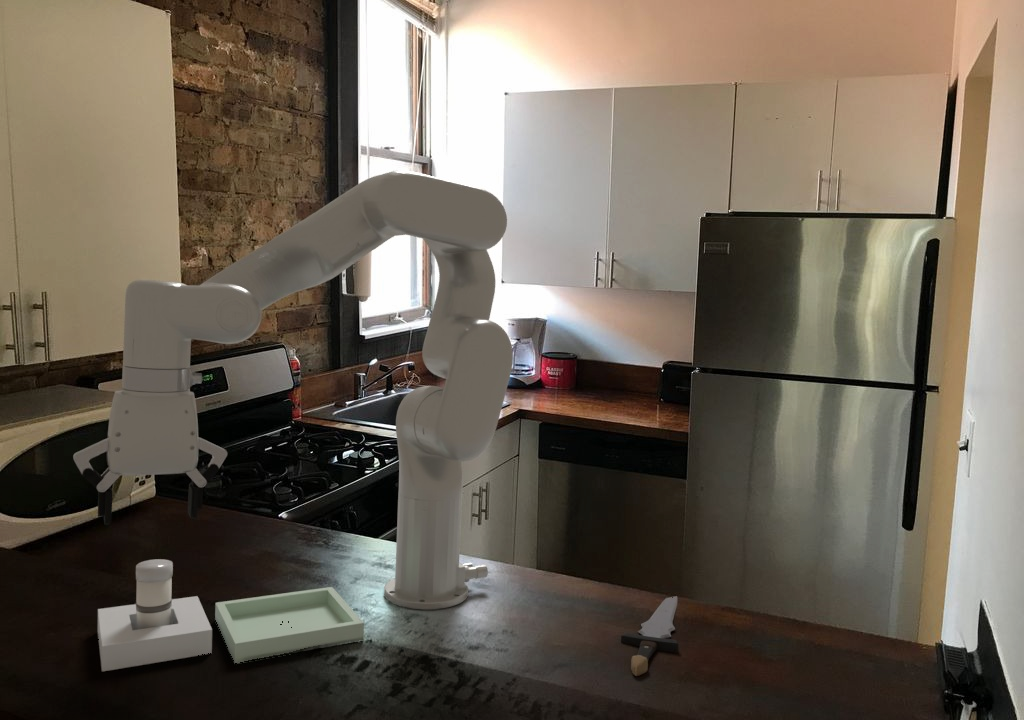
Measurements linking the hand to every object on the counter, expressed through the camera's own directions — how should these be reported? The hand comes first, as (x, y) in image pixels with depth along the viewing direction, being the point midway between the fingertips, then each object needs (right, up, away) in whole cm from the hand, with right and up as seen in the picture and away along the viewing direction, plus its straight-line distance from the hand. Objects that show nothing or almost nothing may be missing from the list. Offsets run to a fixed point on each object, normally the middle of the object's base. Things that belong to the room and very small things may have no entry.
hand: (150, 519), depth 99 cm
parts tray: (+15, -16, +7) cm, 23 cm away
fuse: (0, -16, +1) cm, 16 cm away
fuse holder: (0, -16, +1) cm, 16 cm away
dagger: (+65, -19, +13) cm, 69 cm away
